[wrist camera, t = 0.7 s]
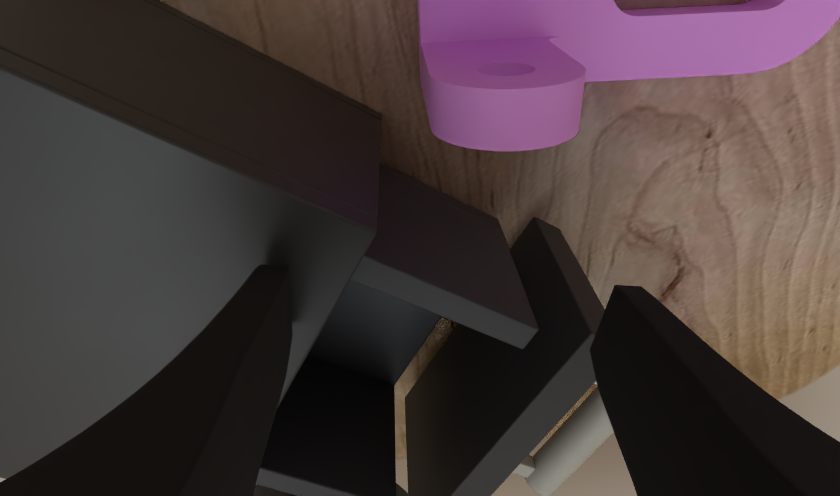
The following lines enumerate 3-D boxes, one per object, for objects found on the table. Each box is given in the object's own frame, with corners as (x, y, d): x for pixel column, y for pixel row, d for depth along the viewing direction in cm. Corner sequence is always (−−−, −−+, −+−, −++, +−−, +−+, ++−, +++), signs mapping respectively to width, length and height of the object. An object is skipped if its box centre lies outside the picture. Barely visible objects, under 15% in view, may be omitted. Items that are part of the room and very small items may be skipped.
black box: (381, 113, 19) (378, 232, 12) (263, 345, 24) (208, 530, 16) (-19, -90, 15) (-377, -101, 8) (-62, 230, 20) (-311, 402, 13)
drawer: (644, 270, 22) (737, 396, 16) (503, 432, 26) (537, 578, 20) (267, 84, 17) (207, 165, 12) (174, 317, 22) (97, 459, 16)
